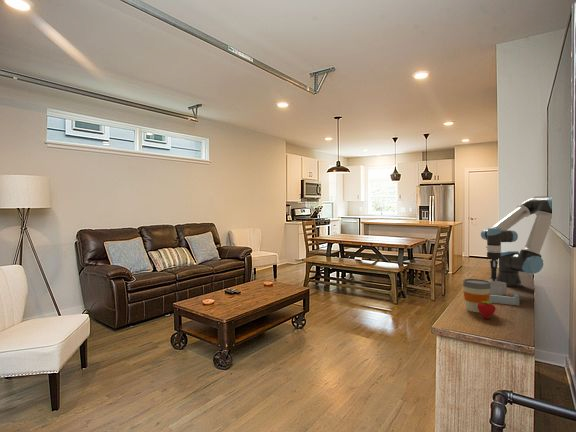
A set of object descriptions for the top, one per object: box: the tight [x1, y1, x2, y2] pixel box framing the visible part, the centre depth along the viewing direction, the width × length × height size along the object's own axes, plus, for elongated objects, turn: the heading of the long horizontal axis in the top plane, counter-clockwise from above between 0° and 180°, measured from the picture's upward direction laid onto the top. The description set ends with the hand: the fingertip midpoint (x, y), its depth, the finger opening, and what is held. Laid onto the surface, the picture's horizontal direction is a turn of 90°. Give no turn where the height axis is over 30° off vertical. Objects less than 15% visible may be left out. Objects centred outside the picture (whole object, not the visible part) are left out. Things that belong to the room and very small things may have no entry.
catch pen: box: [489, 291, 520, 306], centre depth 192 cm, size 15×21×5 cm
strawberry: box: [477, 298, 496, 320], centre depth 159 cm, size 6×8×10 cm
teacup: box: [488, 280, 507, 296], centre depth 203 cm, size 14×11×8 cm
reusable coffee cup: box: [462, 278, 491, 313], centre depth 173 cm, size 12×13×15 cm
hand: (493, 288), depth 213 cm, fingers closed
